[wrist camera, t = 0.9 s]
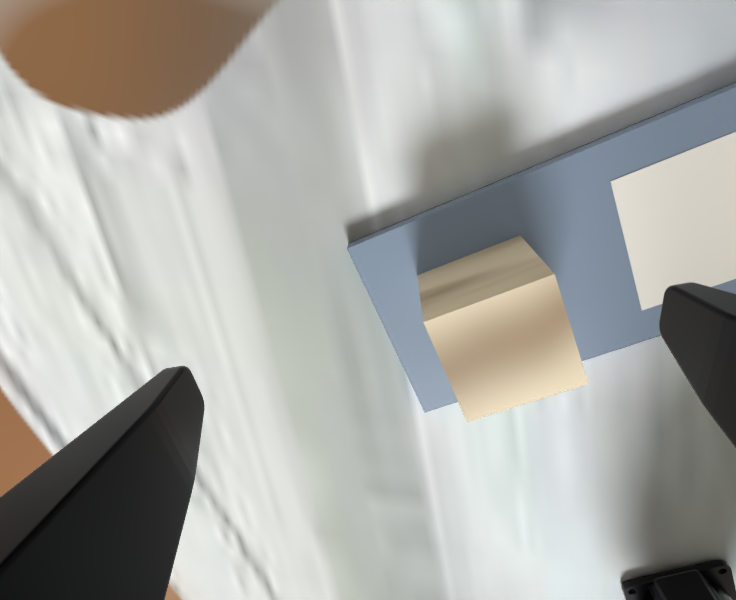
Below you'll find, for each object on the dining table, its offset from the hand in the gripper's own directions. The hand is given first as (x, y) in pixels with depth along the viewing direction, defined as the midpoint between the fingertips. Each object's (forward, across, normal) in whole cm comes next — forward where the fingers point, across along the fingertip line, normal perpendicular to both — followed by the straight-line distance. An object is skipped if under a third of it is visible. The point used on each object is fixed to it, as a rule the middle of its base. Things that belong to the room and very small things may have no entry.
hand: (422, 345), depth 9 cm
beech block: (+12, -4, +7) cm, 15 cm away
